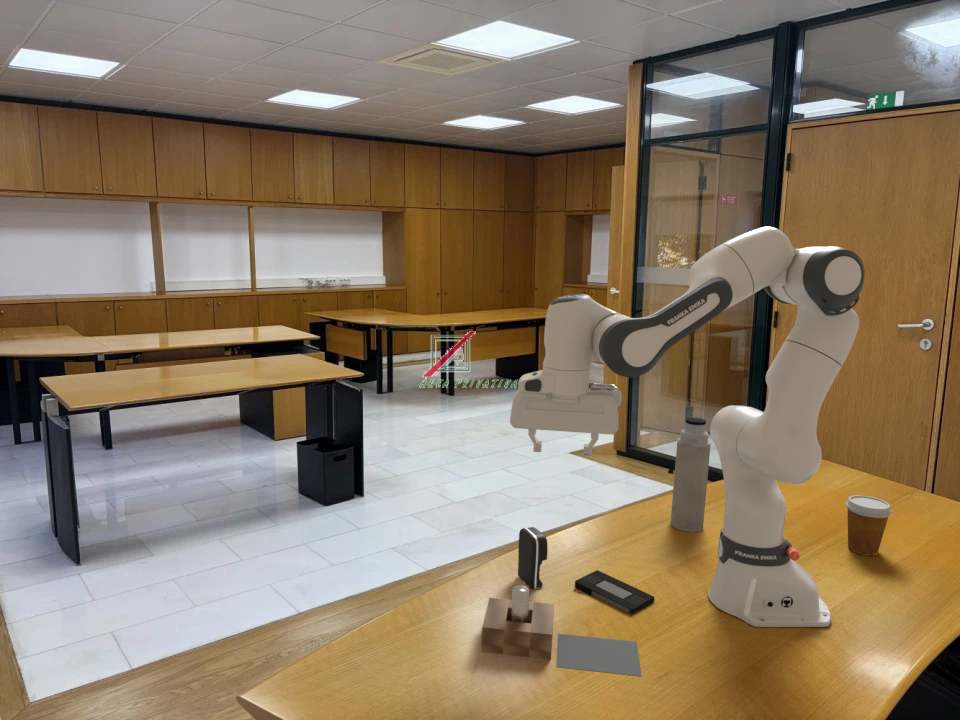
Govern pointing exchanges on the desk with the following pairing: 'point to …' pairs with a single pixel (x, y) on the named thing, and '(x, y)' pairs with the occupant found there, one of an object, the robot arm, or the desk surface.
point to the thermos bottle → (691, 476)
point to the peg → (520, 604)
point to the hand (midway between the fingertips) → (562, 453)
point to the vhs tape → (614, 591)
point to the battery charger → (531, 556)
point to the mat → (598, 655)
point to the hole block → (518, 630)
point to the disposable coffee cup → (866, 523)
